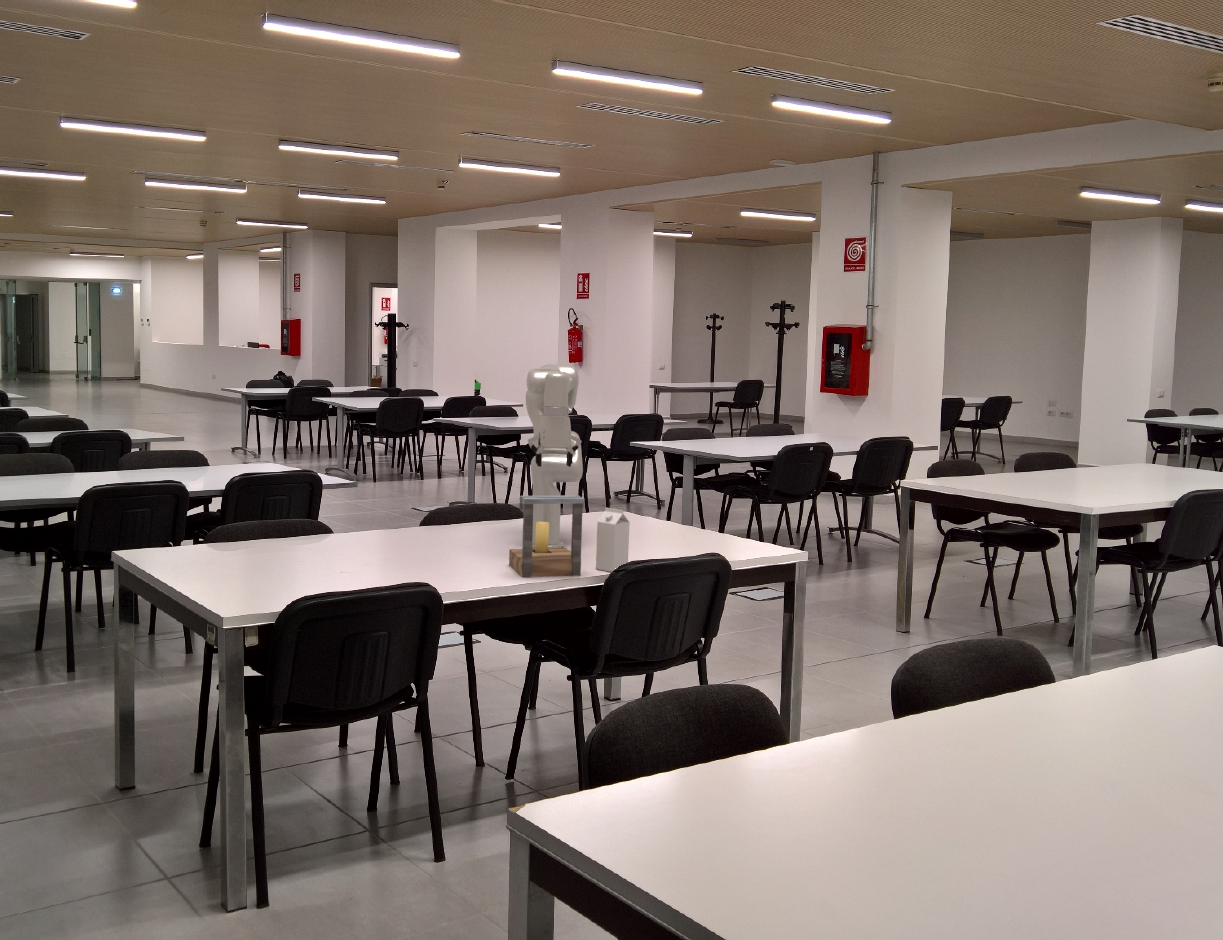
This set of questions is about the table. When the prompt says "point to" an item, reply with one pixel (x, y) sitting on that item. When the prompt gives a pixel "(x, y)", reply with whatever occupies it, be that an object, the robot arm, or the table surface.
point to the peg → (542, 537)
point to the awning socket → (556, 558)
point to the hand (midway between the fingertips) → (553, 466)
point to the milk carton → (612, 540)
